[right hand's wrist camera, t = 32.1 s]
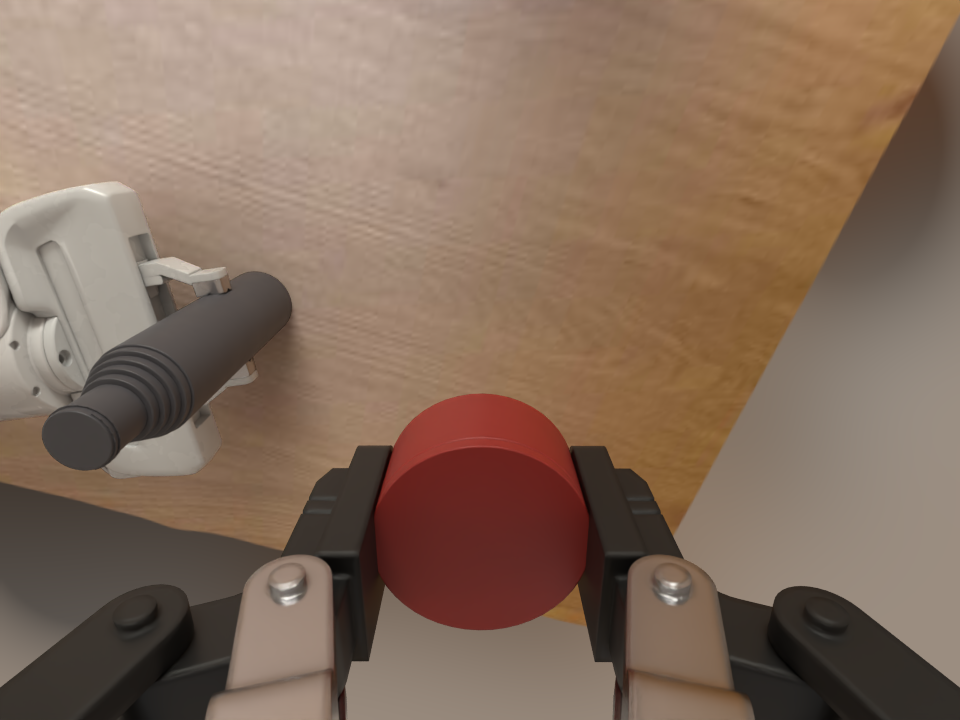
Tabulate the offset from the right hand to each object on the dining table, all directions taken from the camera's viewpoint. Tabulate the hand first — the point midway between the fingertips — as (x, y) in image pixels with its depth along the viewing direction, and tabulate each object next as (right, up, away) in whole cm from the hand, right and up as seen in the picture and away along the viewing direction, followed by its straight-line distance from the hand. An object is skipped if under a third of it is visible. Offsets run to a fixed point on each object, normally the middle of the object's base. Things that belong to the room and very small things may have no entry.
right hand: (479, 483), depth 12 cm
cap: (0, 0, -2) cm, 2 cm away
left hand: (-16, +5, +26) cm, 31 cm away
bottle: (-17, +7, +32) cm, 37 cm away
